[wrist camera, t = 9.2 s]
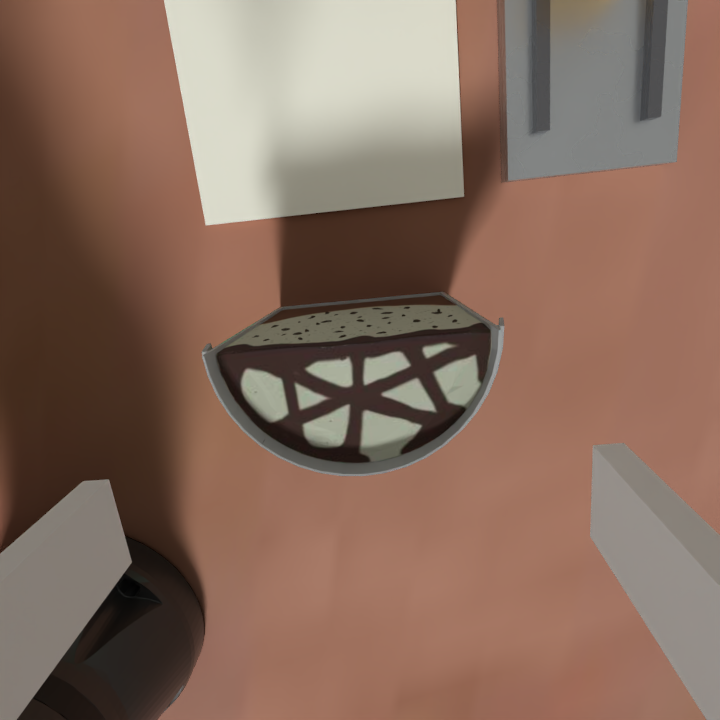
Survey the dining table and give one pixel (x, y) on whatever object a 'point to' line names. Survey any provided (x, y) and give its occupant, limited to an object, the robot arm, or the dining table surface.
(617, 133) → the panel
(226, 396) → the food container
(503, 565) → the dining table surface
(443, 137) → the mat
